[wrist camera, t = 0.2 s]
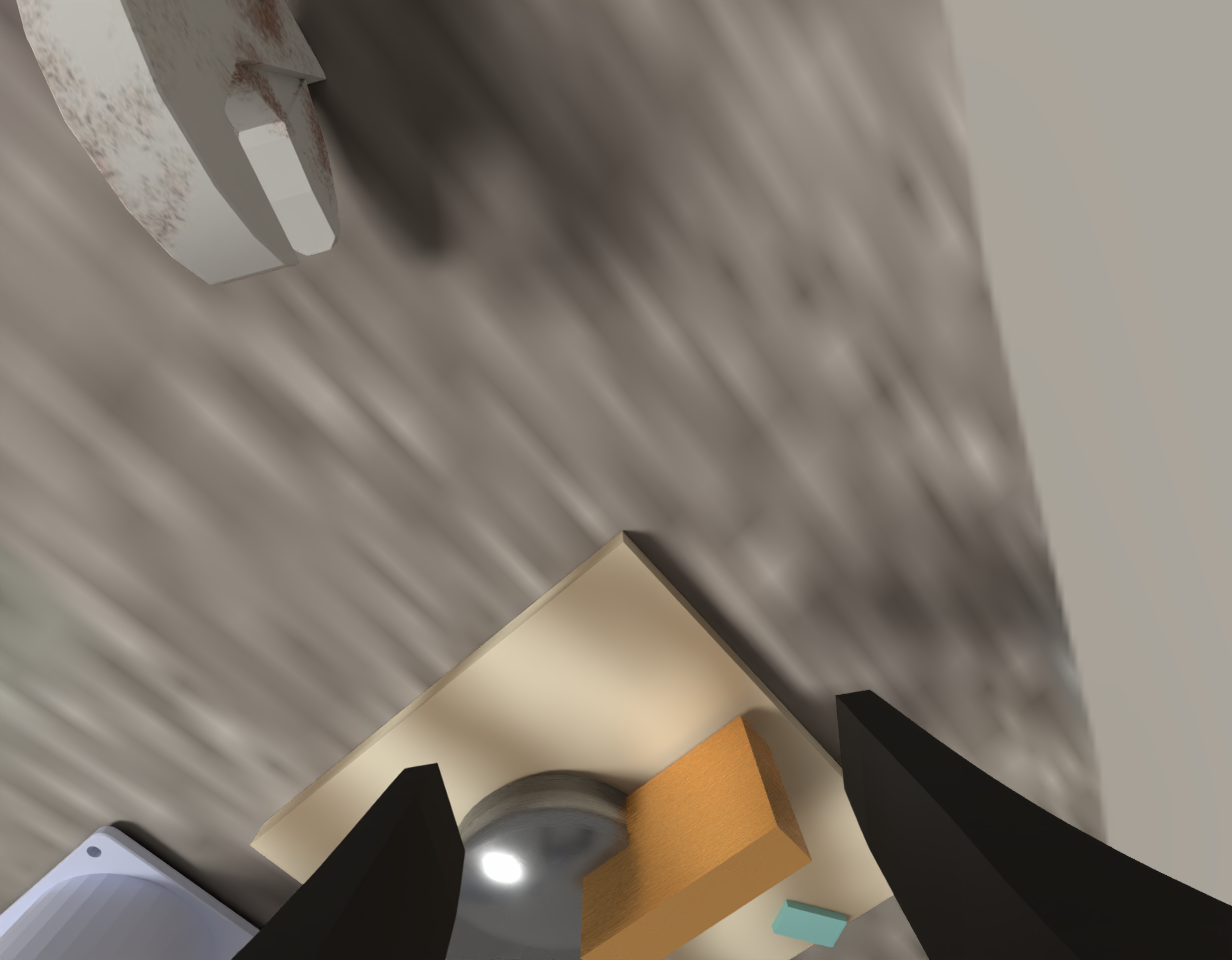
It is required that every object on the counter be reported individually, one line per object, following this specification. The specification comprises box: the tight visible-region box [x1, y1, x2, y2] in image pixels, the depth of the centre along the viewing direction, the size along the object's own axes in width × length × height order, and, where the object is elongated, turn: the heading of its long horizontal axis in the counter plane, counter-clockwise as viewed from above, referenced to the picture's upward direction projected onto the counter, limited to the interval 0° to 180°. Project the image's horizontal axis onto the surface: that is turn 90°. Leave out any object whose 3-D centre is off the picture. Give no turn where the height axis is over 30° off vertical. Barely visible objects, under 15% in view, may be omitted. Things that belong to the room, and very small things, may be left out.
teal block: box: [772, 900, 847, 948], centre depth 23 cm, size 2×1×1 cm, turn 71°
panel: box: [250, 531, 894, 960], centre depth 23 cm, size 18×18×1 cm
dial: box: [446, 716, 812, 960], centre depth 19 cm, size 13×8×5 cm, turn 131°
